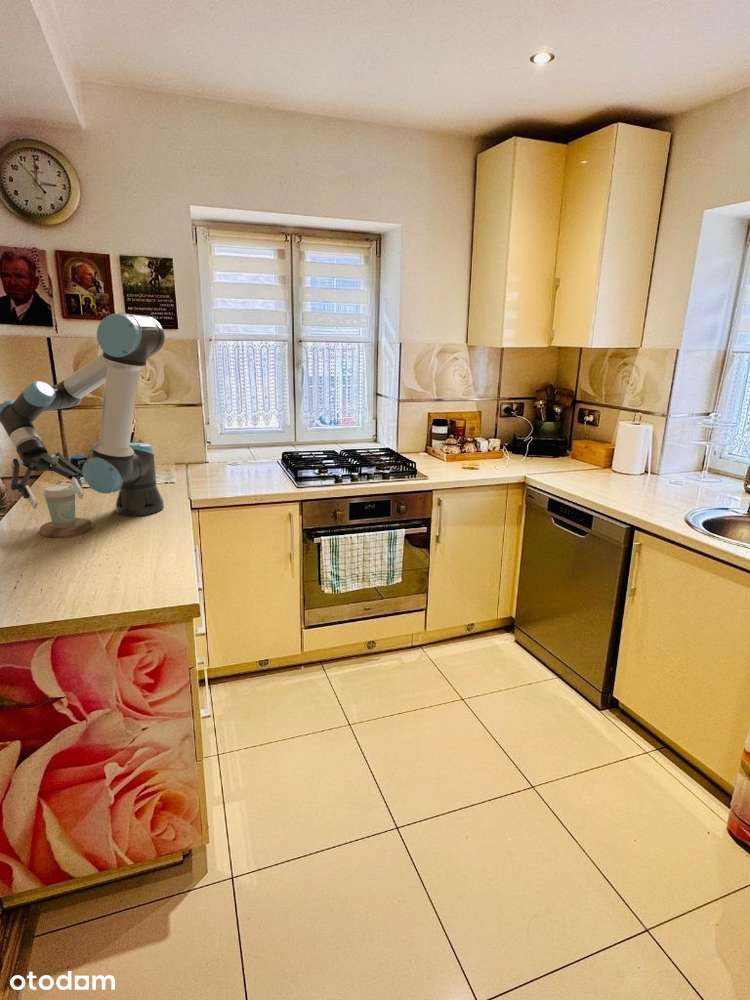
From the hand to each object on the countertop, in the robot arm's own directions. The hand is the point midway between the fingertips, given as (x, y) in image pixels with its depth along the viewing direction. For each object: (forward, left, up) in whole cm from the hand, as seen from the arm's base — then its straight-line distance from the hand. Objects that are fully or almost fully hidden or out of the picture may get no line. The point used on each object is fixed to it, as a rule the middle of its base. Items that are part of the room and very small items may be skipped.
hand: (59, 501), depth 168 cm
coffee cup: (-1, +1, -8) cm, 8 cm away
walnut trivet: (-1, +1, -9) cm, 9 cm away
